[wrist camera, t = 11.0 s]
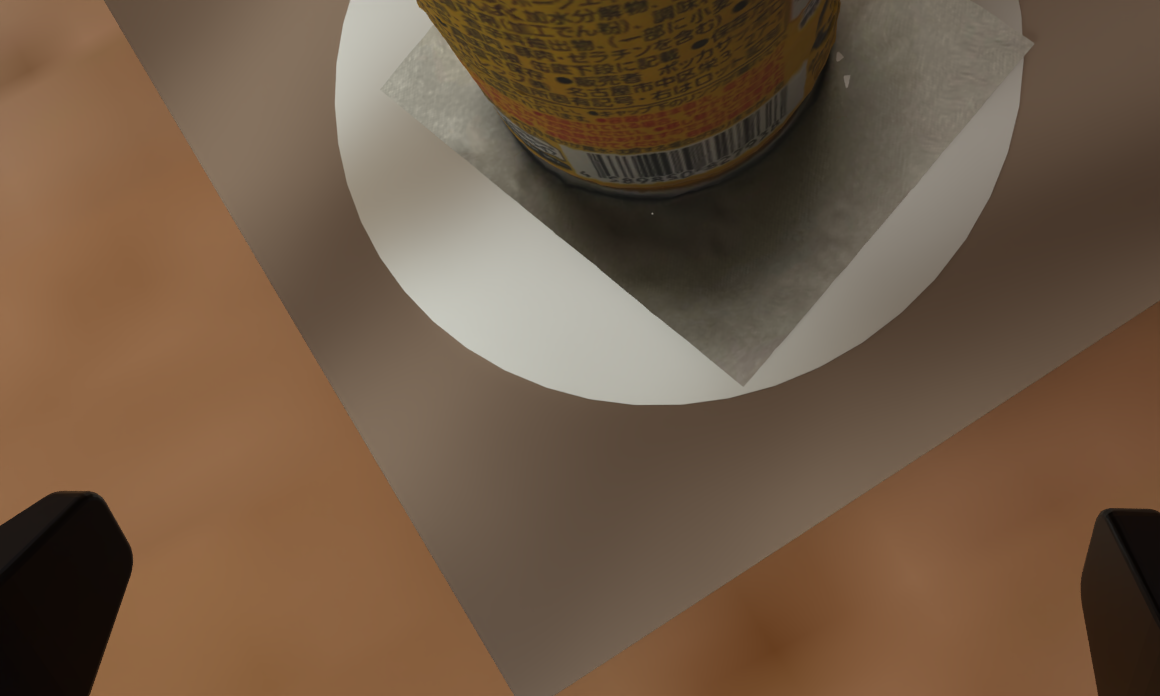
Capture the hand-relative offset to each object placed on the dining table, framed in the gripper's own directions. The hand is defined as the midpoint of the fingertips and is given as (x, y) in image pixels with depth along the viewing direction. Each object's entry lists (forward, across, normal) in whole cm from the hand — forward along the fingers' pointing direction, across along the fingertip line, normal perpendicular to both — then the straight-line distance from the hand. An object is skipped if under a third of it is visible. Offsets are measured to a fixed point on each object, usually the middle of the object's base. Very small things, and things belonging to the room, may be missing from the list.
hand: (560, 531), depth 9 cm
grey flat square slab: (+12, 0, +1) cm, 12 cm away
